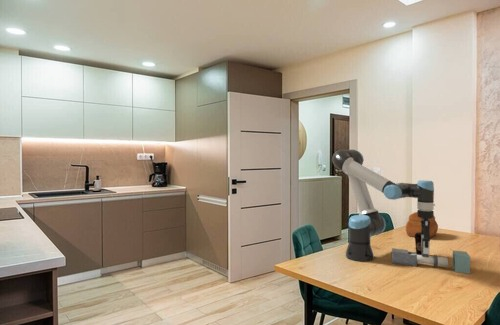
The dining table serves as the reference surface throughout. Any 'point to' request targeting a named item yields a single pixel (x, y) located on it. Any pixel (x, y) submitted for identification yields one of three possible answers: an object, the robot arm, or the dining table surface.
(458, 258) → the socket
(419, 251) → the coffee cup
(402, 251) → the sleeve
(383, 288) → the dining table surface
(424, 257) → the tube
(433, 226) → the bread
